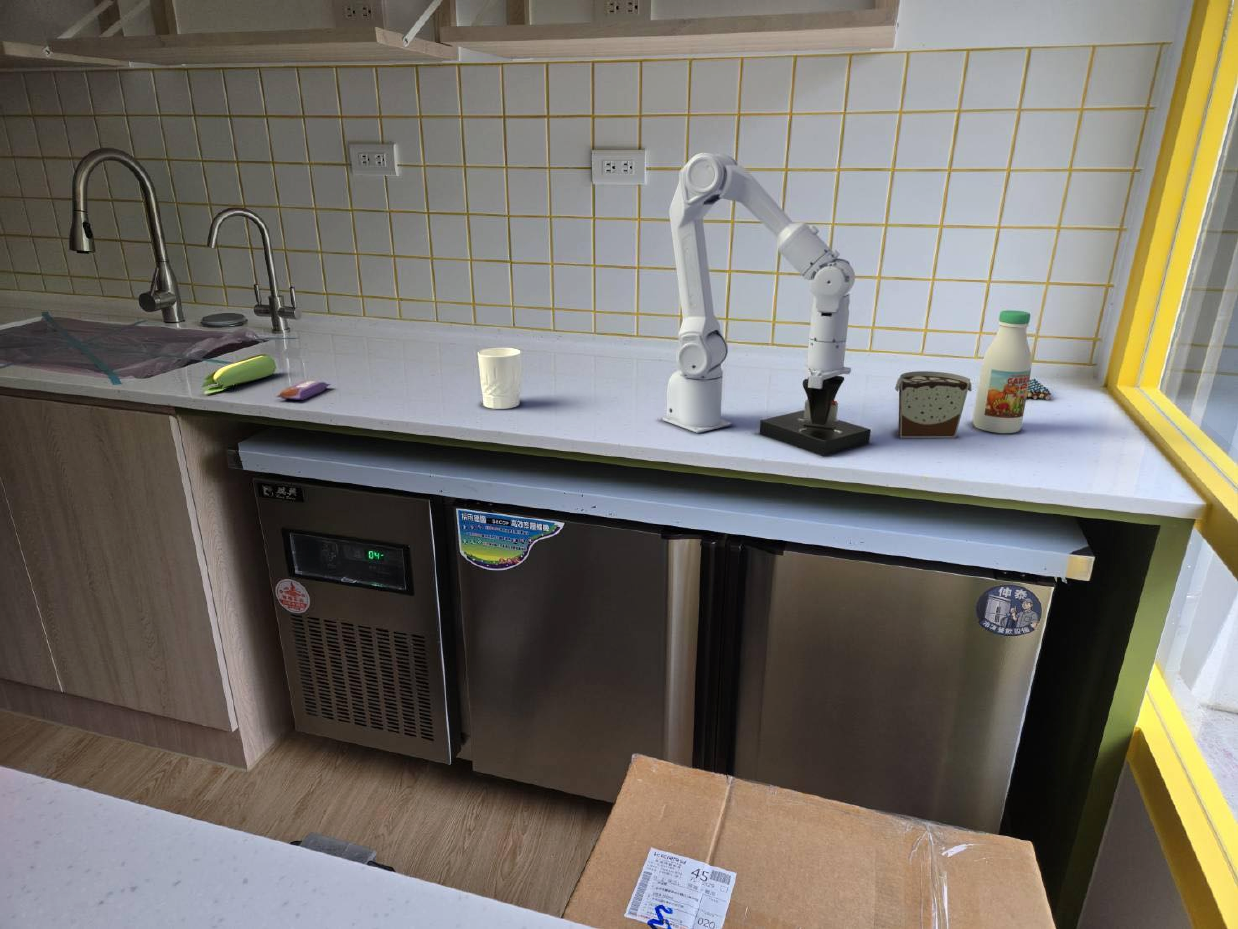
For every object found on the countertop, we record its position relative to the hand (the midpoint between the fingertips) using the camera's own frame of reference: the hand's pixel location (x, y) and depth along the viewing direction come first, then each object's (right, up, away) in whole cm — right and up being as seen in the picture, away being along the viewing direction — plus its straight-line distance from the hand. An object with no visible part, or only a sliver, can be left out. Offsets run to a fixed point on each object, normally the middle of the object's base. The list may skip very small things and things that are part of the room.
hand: (819, 421), depth 133 cm
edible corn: (-110, +9, +34) cm, 115 cm away
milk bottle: (+33, -1, +9) cm, 34 cm away
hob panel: (-1, -3, +2) cm, 3 cm away
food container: (+19, -2, +6) cm, 20 cm away
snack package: (-94, +6, +26) cm, 98 cm away
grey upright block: (0, -1, 0) cm, 1 cm away
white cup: (-55, +4, +20) cm, 59 cm away
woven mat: (+47, +7, +31) cm, 57 cm away
